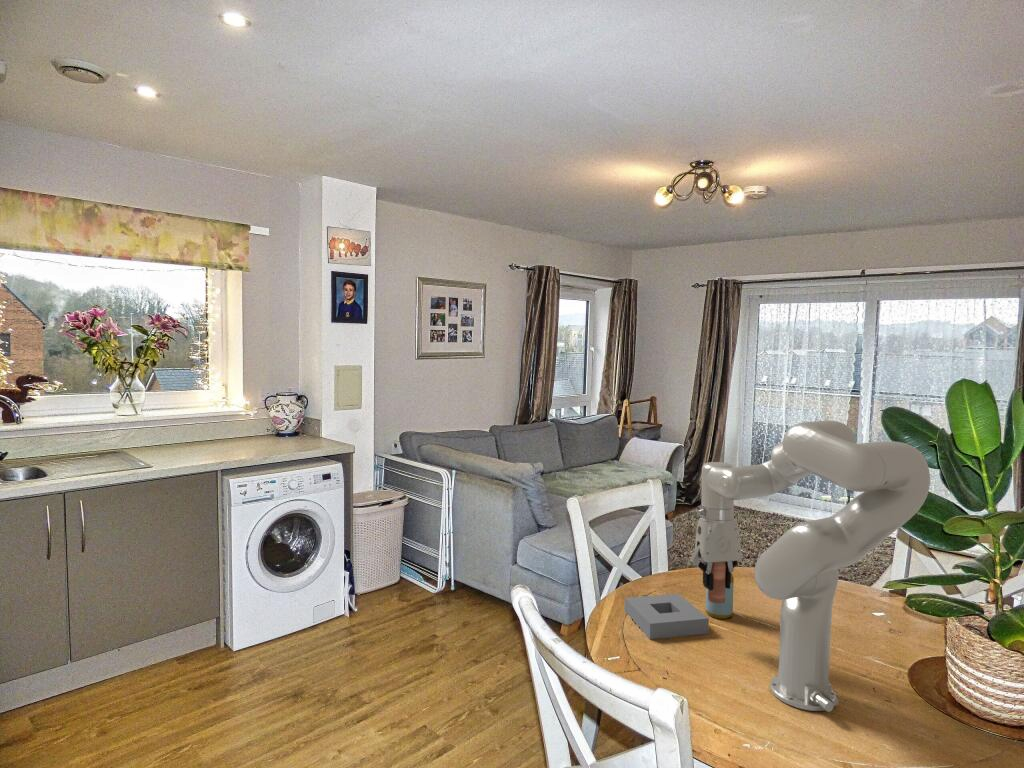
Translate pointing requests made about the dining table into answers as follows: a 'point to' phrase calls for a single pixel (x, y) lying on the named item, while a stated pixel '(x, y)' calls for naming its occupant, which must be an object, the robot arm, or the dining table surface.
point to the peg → (718, 583)
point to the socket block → (666, 616)
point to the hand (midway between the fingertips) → (716, 586)
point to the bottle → (721, 604)
